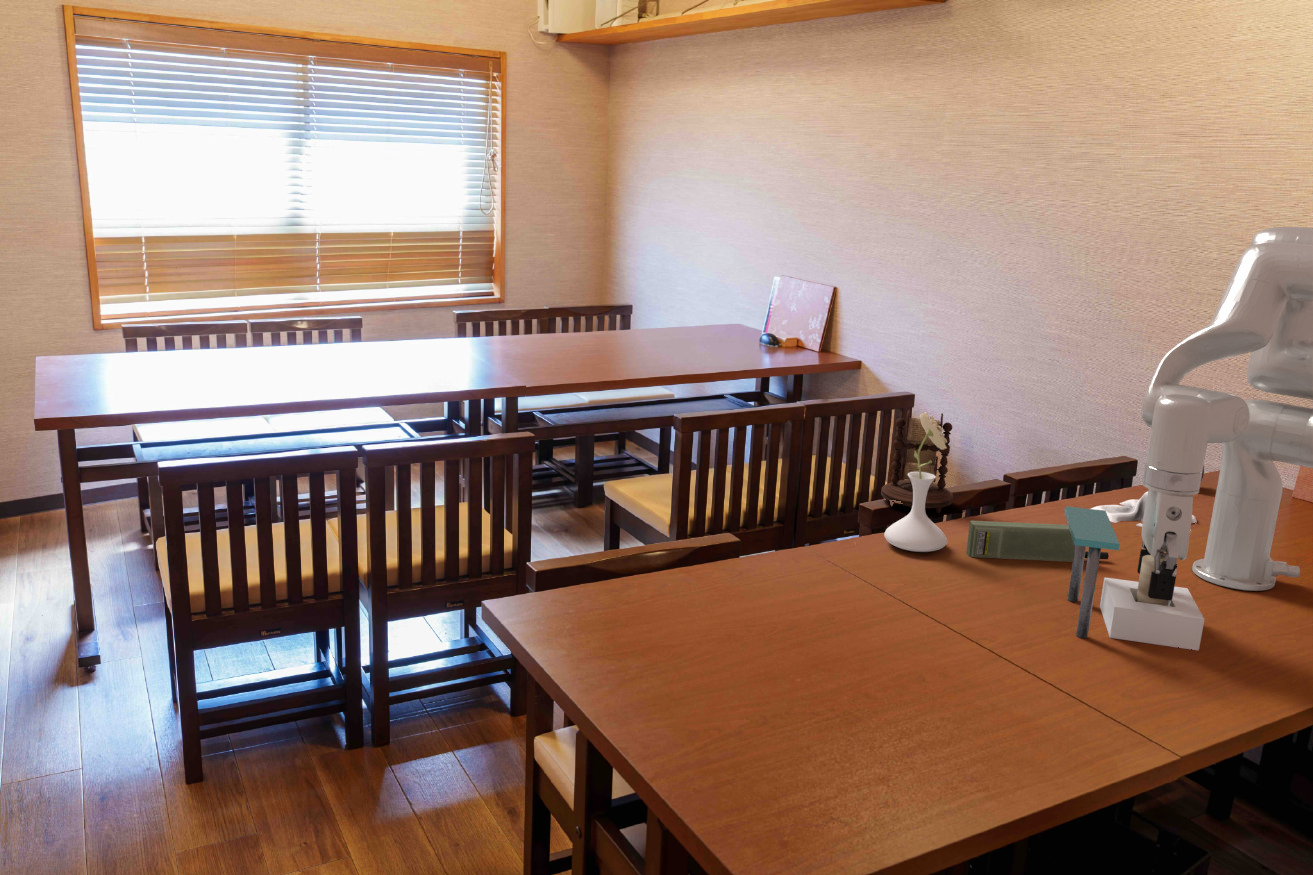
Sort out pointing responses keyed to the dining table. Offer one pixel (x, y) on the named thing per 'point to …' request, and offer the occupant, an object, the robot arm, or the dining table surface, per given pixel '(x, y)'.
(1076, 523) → the small teal stool
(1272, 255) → the robot arm
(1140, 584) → the peg
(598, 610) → the dining table surface
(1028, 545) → the handheld radio
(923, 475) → the flower in vase
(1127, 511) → the cloth
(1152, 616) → the socket block
